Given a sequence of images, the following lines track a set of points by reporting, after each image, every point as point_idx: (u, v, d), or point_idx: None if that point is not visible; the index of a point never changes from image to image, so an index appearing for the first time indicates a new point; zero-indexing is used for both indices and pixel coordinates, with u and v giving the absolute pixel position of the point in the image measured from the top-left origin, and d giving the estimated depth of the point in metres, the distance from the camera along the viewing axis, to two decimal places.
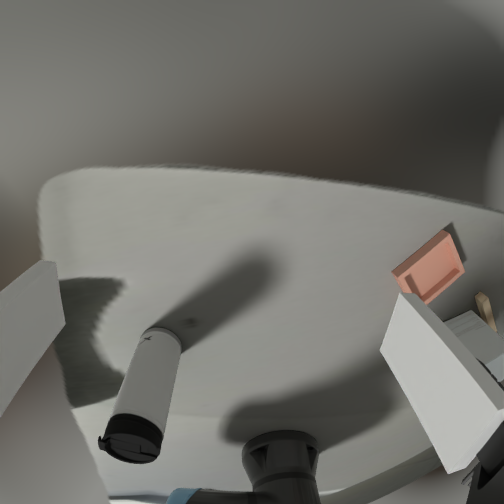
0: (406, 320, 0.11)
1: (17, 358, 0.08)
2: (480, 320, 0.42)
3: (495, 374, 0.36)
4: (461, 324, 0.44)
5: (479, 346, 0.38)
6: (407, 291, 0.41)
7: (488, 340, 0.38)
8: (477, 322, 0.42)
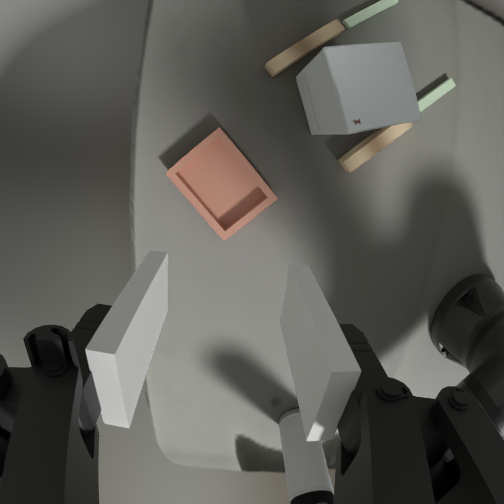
0: (291, 288, 0.12)
1: (148, 343, 0.10)
2: (302, 75, 0.29)
3: (379, 76, 0.21)
4: (308, 108, 0.31)
5: (325, 107, 0.25)
6: (244, 222, 0.36)
7: (318, 85, 0.25)
8: (304, 82, 0.29)
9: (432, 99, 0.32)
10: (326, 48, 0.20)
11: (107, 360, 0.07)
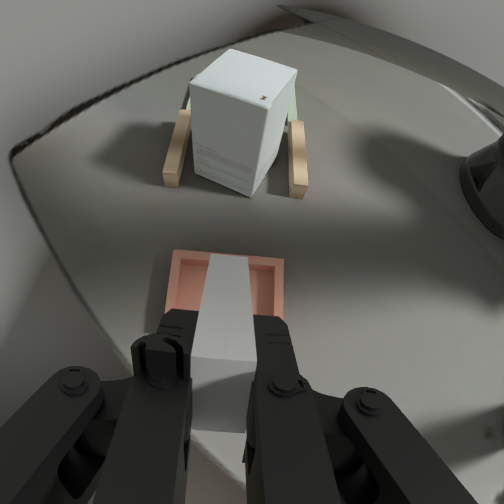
0: None
1: None
2: (196, 153, 0.31)
3: (242, 69, 0.25)
4: (226, 173, 0.32)
5: (234, 131, 0.26)
6: (280, 306, 0.28)
7: (213, 124, 0.27)
8: (203, 155, 0.31)
9: (293, 103, 0.41)
10: (191, 81, 0.24)
11: (213, 365, 0.07)
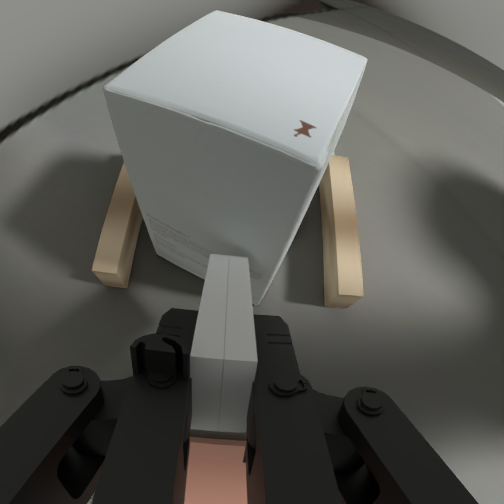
0: None
1: None
2: (152, 229, 0.16)
3: (241, 47, 0.10)
4: None
5: (222, 208, 0.11)
6: None
7: (172, 186, 0.11)
8: (164, 236, 0.16)
9: None
10: (108, 84, 0.08)
11: (213, 365, 0.07)
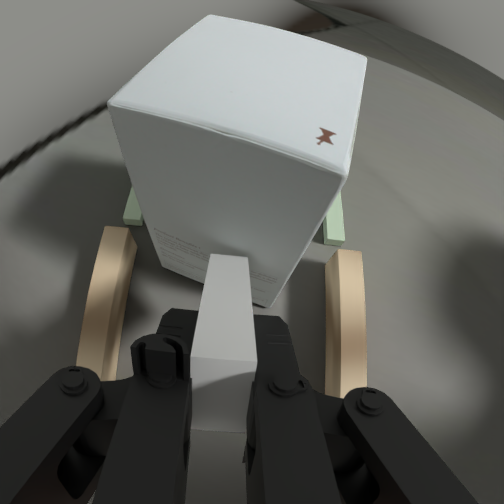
0: None
1: None
2: (158, 243, 0.16)
3: (245, 53, 0.09)
4: None
5: (239, 218, 0.11)
6: None
7: (185, 200, 0.11)
8: (172, 248, 0.16)
9: None
10: (113, 98, 0.08)
11: (213, 365, 0.07)
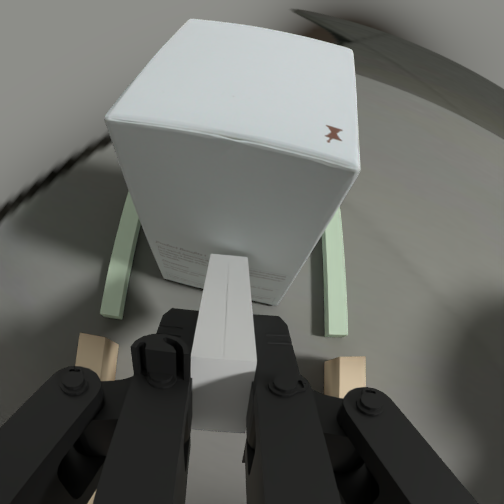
0: None
1: None
2: (160, 255, 0.16)
3: (237, 55, 0.09)
4: None
5: (249, 222, 0.11)
6: None
7: (191, 209, 0.11)
8: (175, 259, 0.15)
9: (339, 270, 0.20)
10: (110, 113, 0.08)
11: (213, 365, 0.07)
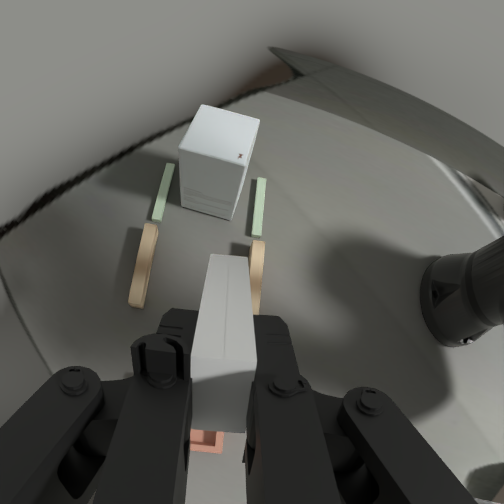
0: None
1: None
2: (183, 193, 0.39)
3: (217, 127, 0.33)
4: (210, 205, 0.40)
5: (217, 180, 0.35)
6: None
7: (199, 175, 0.35)
8: (190, 195, 0.39)
9: (260, 208, 0.44)
10: (179, 146, 0.31)
11: (213, 365, 0.07)
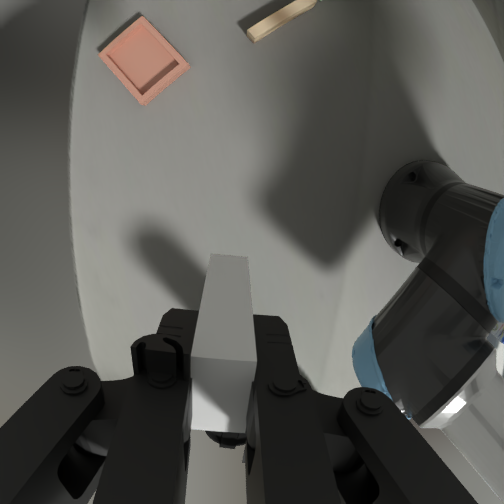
0: None
1: None
2: None
3: None
4: None
5: None
6: (158, 86, 0.34)
7: None
8: None
9: None
10: None
11: (214, 365, 0.07)
